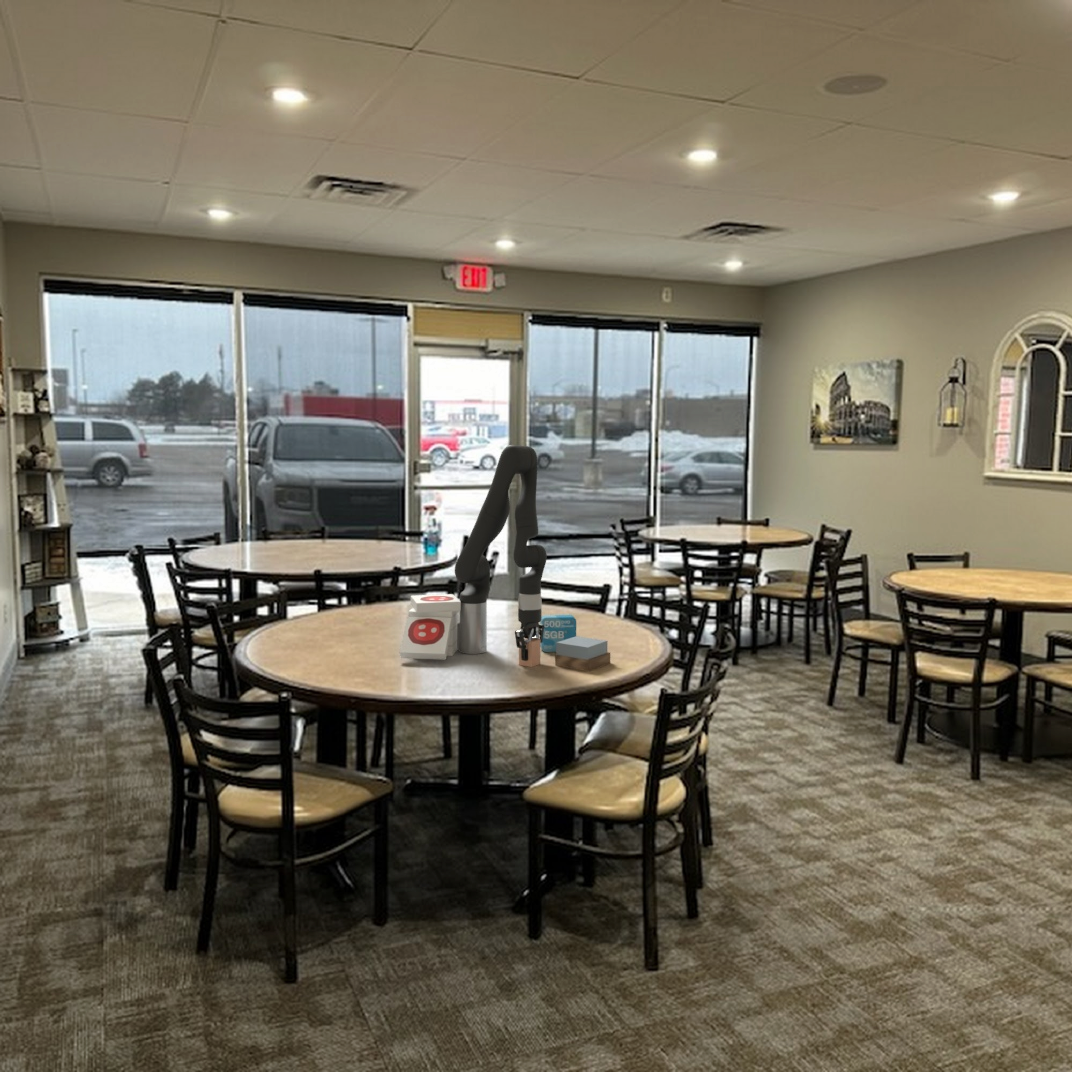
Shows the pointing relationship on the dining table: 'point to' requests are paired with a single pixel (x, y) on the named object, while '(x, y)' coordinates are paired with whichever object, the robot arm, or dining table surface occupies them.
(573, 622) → the data package
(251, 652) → the dining table surface
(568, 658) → the tower base
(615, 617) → the dining table surface
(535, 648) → the terracotta block
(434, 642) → the pizza boxes
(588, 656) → the tower top
